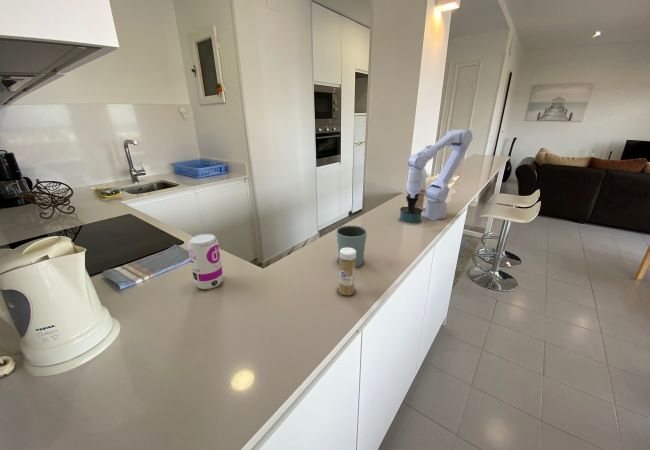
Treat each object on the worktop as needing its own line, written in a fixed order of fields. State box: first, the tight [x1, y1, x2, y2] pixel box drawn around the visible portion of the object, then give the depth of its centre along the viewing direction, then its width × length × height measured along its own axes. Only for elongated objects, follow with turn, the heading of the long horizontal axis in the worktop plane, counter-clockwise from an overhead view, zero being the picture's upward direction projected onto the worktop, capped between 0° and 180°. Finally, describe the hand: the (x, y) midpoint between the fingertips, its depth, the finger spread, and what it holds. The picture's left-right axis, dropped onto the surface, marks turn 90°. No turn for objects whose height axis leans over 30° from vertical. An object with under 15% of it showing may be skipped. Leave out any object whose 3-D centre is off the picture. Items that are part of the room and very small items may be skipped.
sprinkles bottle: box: [338, 248, 356, 296], centre depth 79 cm, size 5×5×13 cm
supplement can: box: [187, 233, 224, 290], centre depth 83 cm, size 8×8×15 cm
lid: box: [399, 205, 423, 214], centre depth 134 cm, size 10×10×5 cm
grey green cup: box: [336, 225, 368, 268], centre depth 96 cm, size 10×10×12 cm
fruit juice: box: [404, 167, 428, 210], centre depth 150 cm, size 9×9×28 cm
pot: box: [399, 210, 422, 224], centre depth 136 cm, size 10×10×5 cm
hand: (411, 208), depth 135 cm, fingers open, 6 cm apart
